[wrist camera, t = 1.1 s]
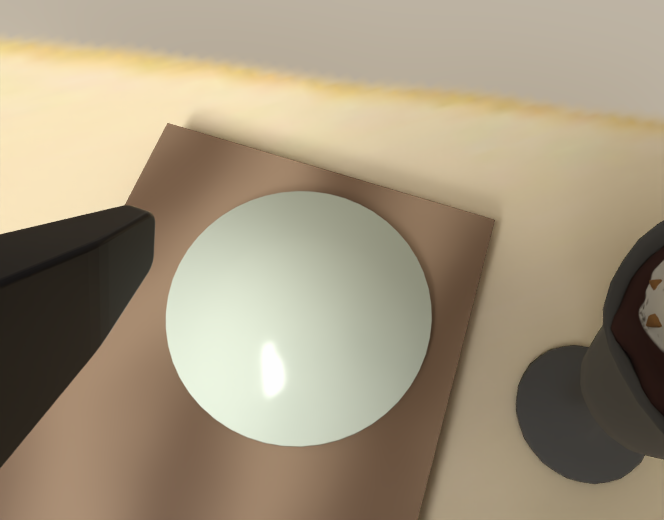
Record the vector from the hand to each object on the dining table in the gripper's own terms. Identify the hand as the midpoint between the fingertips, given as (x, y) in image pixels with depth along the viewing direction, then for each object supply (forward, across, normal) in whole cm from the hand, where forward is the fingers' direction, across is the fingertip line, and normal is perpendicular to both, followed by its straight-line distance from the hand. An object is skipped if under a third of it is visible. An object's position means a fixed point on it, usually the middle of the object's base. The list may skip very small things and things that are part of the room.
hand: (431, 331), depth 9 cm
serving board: (+9, +5, +11) cm, 15 cm away
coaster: (+10, +4, +9) cm, 14 cm away
